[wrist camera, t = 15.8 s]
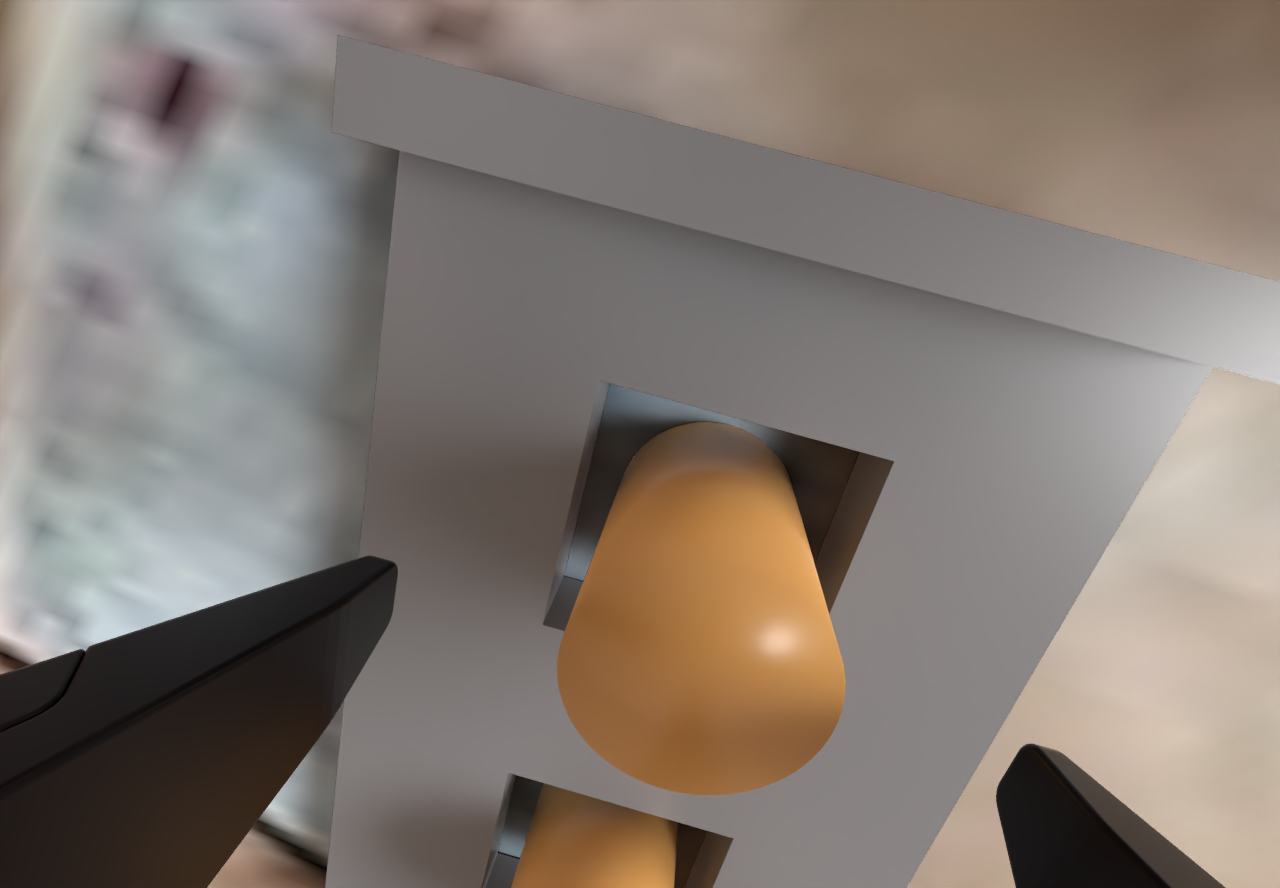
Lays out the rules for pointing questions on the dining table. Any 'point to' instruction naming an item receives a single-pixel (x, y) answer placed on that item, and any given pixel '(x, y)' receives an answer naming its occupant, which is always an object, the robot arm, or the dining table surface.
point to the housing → (752, 391)
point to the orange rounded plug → (703, 622)
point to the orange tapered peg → (595, 845)
